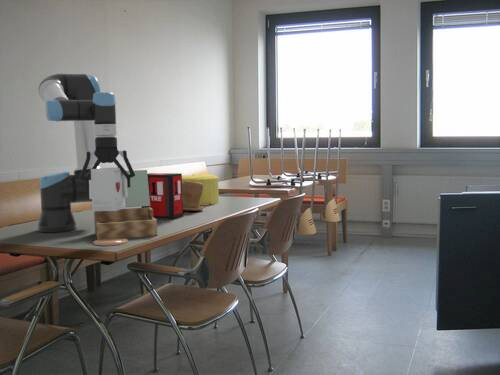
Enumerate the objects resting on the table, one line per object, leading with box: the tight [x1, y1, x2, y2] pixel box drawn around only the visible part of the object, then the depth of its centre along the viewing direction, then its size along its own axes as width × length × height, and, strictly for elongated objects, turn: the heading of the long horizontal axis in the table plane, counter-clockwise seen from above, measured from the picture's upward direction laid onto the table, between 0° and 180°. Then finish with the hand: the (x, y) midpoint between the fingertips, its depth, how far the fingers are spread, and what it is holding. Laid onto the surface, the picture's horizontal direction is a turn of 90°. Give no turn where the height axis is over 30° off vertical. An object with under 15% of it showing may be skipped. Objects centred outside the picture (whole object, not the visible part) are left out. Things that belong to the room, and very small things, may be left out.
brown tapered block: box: [182, 181, 204, 212], centre depth 288 cm, size 15×12×15 cm
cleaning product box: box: [140, 172, 184, 220], centre depth 267 cm, size 16×9×20 cm, turn 69°
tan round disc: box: [93, 238, 129, 247], centre depth 210 cm, size 12×12×1 cm
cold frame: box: [93, 207, 158, 240], centre depth 226 cm, size 22×15×9 cm
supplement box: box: [91, 167, 126, 212], centre depth 208 cm, size 9×9×15 cm
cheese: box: [182, 173, 220, 206], centre depth 319 cm, size 26×26×15 cm
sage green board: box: [124, 169, 150, 208], centre depth 234 cm, size 22×15×1 cm
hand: (108, 197), depth 208 cm, fingers closed on supplement box, 12 cm apart
